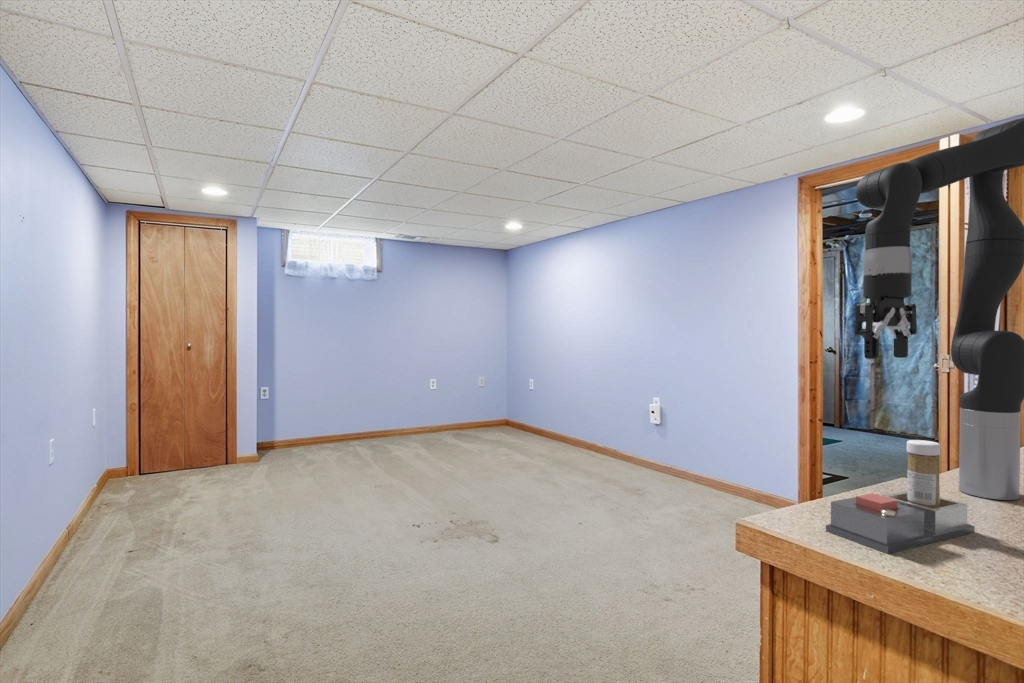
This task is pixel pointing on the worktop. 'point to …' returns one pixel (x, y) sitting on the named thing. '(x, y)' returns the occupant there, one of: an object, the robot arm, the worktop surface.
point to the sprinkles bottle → (923, 473)
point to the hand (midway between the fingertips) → (886, 358)
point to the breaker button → (876, 502)
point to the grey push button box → (898, 523)
